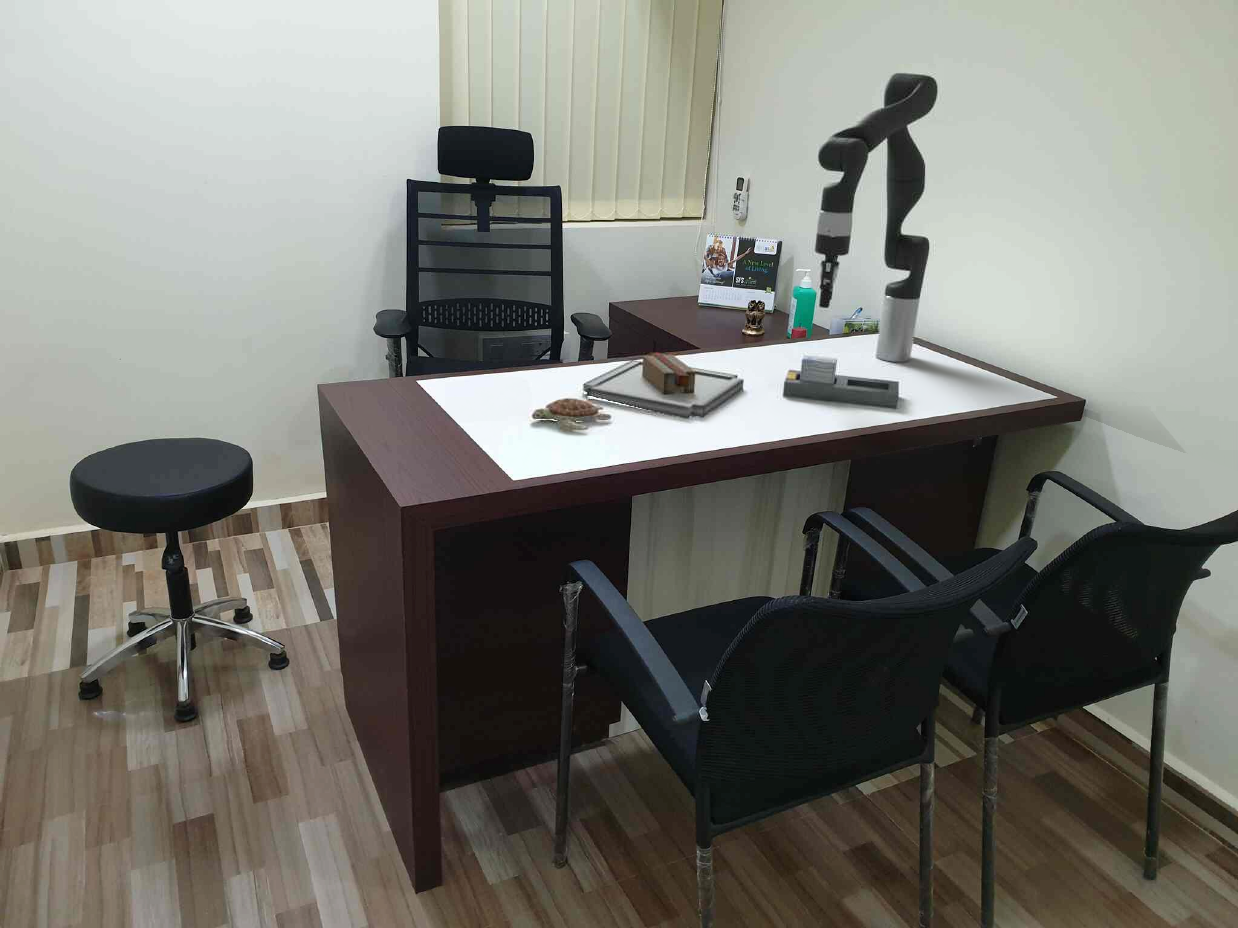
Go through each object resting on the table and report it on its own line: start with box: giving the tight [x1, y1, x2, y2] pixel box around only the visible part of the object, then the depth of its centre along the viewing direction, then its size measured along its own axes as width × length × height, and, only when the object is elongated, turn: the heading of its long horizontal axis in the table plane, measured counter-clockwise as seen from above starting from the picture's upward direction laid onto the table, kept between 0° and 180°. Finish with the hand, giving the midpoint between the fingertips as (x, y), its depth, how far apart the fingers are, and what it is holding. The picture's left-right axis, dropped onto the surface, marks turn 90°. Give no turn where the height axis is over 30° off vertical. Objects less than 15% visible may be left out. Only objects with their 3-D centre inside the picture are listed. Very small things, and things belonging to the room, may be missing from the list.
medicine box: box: [800, 354, 838, 384], centre depth 217 cm, size 8×4×9 cm, turn 73°
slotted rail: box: [782, 369, 900, 410], centre depth 217 cm, size 11×26×4 cm, turn 74°
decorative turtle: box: [531, 397, 612, 431], centre depth 194 cm, size 18×17×5 cm
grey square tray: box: [582, 352, 745, 419], centre depth 214 cm, size 30×30×8 cm
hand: (825, 303), depth 211 cm, fingers open, 8 cm apart
